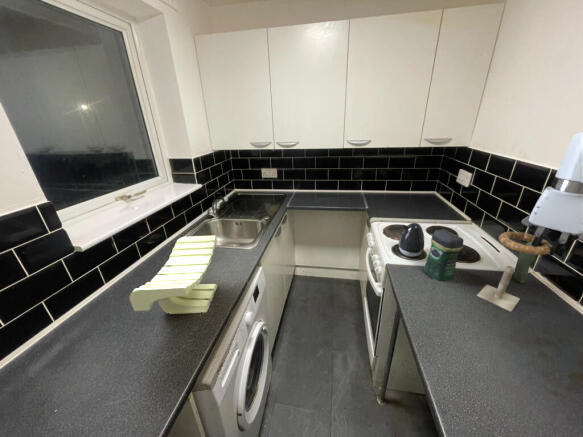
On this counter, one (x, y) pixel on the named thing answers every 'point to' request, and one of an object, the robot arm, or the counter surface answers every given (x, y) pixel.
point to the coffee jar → (443, 255)
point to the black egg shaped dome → (412, 240)
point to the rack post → (501, 292)
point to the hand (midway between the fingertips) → (543, 250)
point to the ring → (541, 250)
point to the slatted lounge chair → (180, 279)
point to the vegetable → (523, 265)
